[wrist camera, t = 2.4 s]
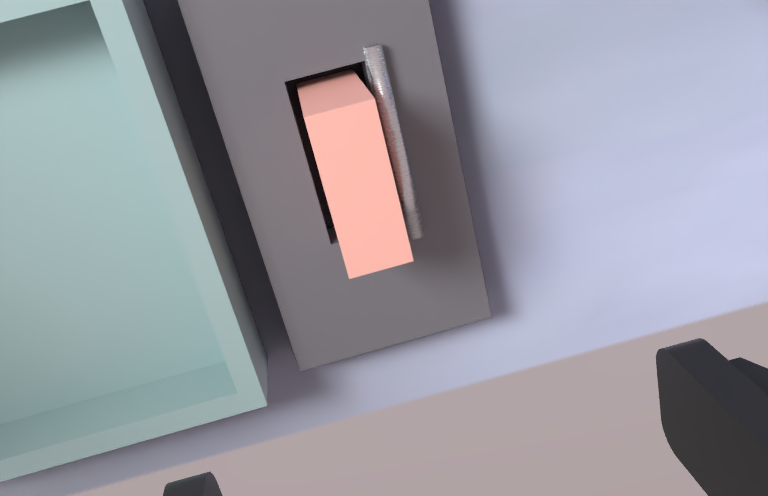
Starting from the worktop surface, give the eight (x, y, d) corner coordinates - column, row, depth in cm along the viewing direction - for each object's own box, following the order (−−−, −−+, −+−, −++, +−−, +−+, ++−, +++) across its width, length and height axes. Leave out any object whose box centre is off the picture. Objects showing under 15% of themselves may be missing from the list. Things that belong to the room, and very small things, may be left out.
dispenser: (167, -50, 28) (158, -51, 25) (396, -108, 28) (409, -114, 26) (298, 349, 35) (300, 379, 32) (479, 298, 35) (495, 324, 33)
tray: (-298, 68, 27) (-388, 86, 23) (129, -40, 28) (107, -39, 24) (-68, 452, 34) (-109, 513, 30) (267, 358, 35) (267, 405, 31)
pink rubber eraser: (295, 83, 30) (303, 117, 24) (352, 68, 30) (374, 98, 24) (333, 215, 33) (349, 279, 26) (385, 201, 33) (413, 261, 26)
